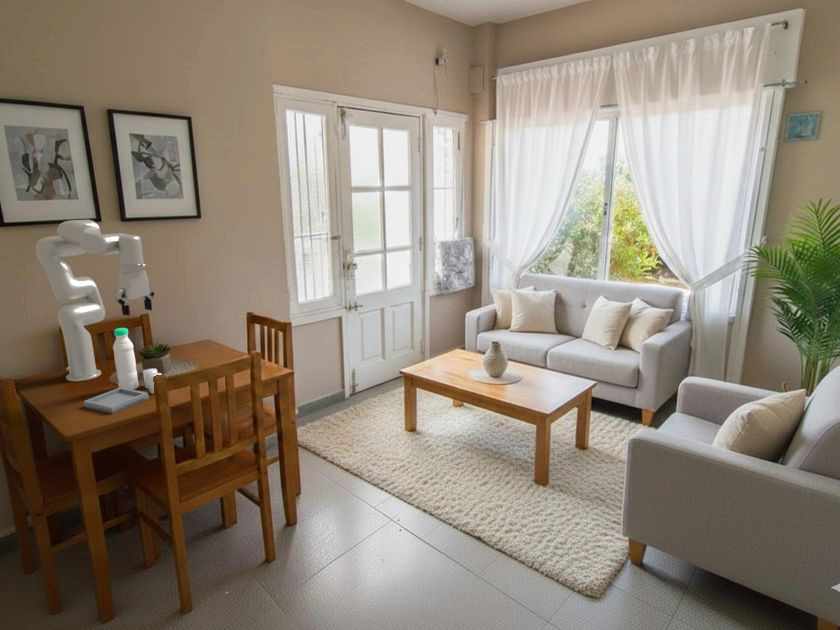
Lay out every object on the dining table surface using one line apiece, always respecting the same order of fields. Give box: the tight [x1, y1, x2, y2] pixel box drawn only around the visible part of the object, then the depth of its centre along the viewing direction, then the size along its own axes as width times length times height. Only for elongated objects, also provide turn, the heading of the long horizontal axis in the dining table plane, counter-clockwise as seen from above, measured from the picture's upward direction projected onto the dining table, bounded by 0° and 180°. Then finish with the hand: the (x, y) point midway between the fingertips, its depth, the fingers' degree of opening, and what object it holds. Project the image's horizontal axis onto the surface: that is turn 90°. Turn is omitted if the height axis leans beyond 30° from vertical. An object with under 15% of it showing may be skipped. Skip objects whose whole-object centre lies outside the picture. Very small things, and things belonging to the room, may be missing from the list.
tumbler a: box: [147, 372, 163, 395], centre depth 203 cm, size 5×5×7 cm
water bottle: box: [112, 327, 140, 390], centre depth 204 cm, size 7×7×25 cm
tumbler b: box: [142, 367, 158, 390], centre depth 208 cm, size 5×5×7 cm
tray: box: [83, 387, 150, 415], centre depth 193 cm, size 15×15×2 cm
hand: (137, 312), depth 197 cm, fingers open, 9 cm apart
